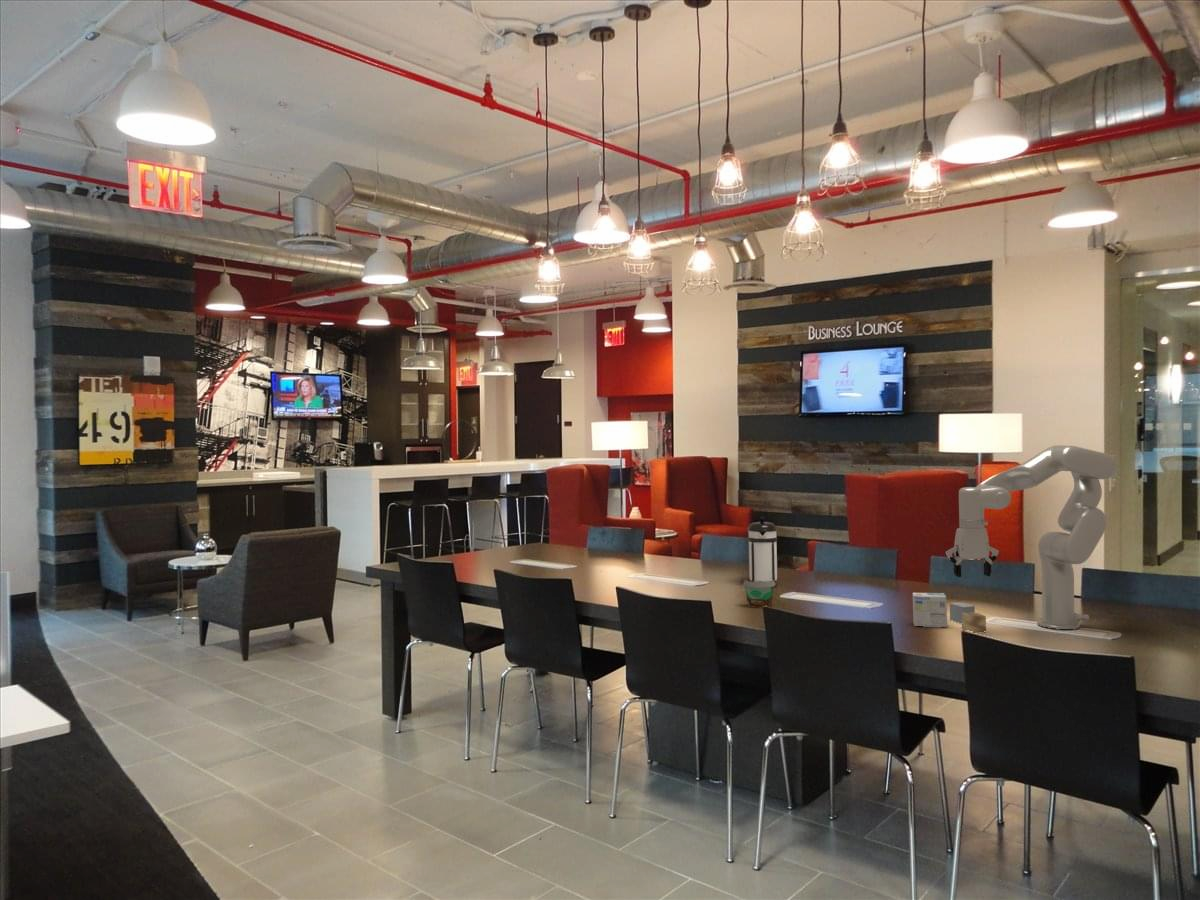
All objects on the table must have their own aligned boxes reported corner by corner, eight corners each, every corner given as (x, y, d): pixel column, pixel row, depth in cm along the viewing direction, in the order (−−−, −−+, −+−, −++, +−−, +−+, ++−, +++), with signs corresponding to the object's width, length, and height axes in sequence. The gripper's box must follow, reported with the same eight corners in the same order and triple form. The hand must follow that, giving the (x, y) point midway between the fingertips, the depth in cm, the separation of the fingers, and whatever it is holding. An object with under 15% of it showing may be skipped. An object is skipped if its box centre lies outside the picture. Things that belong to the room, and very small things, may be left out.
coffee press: (789, 584, 366) (788, 516, 366) (761, 588, 358) (760, 519, 358) (763, 579, 381) (761, 513, 381) (735, 583, 373) (734, 516, 373)
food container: (742, 607, 321) (742, 582, 321) (743, 604, 327) (743, 579, 327) (775, 608, 318) (774, 582, 318) (776, 605, 324) (775, 579, 324)
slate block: (960, 619, 295) (960, 602, 295) (974, 623, 288) (974, 606, 288) (950, 620, 293) (949, 603, 293) (963, 624, 287) (963, 607, 287)
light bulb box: (945, 623, 288) (944, 592, 288) (947, 628, 282) (947, 596, 282) (912, 622, 291) (911, 591, 291) (914, 627, 285) (913, 595, 284)
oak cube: (978, 628, 280) (977, 612, 280) (985, 632, 275) (985, 616, 275) (961, 629, 280) (961, 612, 280) (969, 633, 275) (969, 616, 275)
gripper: (992, 522, 281) (993, 573, 281) (941, 524, 281) (941, 574, 281) (1003, 525, 273) (1004, 577, 274) (950, 526, 273) (951, 578, 273)
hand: (972, 576), depth 277 cm, fingers open, 9 cm apart
